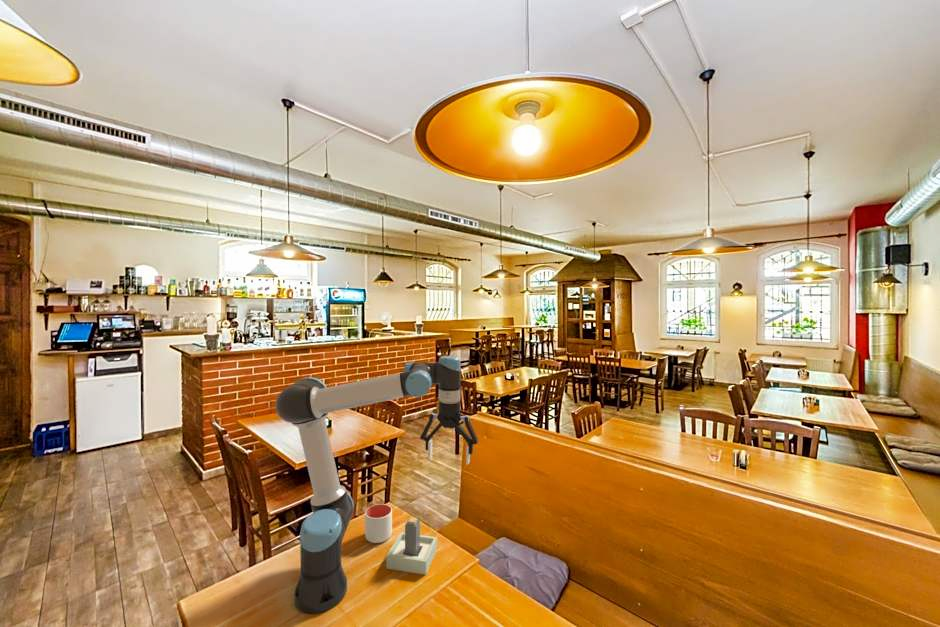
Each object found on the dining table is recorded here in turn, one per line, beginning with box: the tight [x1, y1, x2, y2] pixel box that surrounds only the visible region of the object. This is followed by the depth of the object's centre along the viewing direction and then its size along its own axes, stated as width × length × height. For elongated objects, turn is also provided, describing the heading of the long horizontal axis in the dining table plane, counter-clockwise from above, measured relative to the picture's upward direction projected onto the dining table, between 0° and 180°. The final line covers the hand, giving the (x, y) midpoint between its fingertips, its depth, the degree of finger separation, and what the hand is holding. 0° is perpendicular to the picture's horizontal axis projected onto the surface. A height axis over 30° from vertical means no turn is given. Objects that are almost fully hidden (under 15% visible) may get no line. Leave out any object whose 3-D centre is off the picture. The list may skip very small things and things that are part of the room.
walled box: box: [385, 531, 438, 576], centre depth 133 cm, size 14×13×4 cm
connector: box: [404, 517, 421, 557], centre depth 132 cm, size 4×4×14 cm
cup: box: [364, 503, 393, 544], centre depth 145 cm, size 10×10×10 cm
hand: (448, 461), depth 132 cm, fingers open, 13 cm apart
